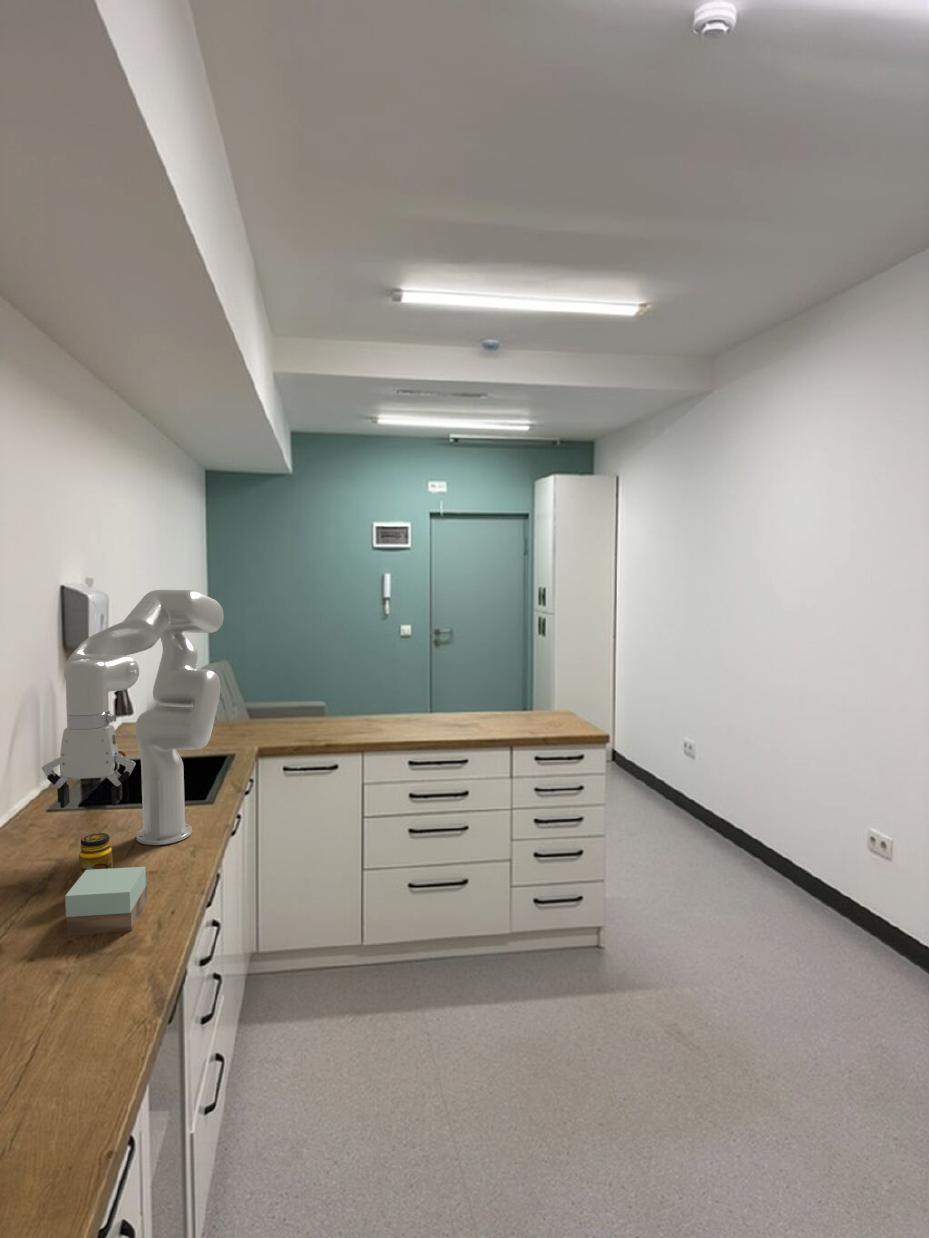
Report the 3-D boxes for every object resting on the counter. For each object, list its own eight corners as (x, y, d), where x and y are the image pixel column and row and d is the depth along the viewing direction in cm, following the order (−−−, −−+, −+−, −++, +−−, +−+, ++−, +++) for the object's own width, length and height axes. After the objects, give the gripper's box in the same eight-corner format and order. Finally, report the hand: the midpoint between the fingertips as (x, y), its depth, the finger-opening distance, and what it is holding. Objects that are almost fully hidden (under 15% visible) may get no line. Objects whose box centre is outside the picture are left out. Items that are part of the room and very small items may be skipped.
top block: (86, 889, 143) (85, 869, 143) (145, 885, 145) (145, 866, 144) (65, 916, 132) (65, 895, 132) (130, 912, 134) (129, 891, 134)
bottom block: (87, 908, 144) (87, 889, 143) (146, 904, 146) (146, 885, 145) (67, 937, 133) (66, 916, 132) (131, 932, 135) (130, 912, 134)
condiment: (91, 904, 144) (89, 846, 143) (66, 894, 149) (63, 837, 148) (124, 890, 151) (122, 834, 150) (99, 880, 155) (97, 826, 154)
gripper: (138, 716, 151) (140, 796, 153) (48, 718, 149) (51, 800, 150) (128, 724, 144) (130, 808, 145) (33, 726, 141) (36, 812, 142)
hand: (90, 804), depth 148 cm, fingers open, 9 cm apart
